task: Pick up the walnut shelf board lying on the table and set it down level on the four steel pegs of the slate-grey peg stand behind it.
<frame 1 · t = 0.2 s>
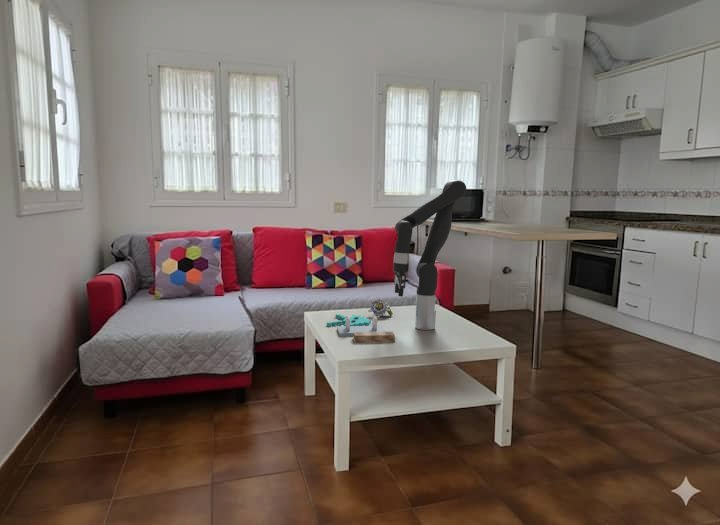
hand: (398, 294, 239), 17 cm above the table, tool pointing down, fingers open, 8 cm apart
alien figure: (350, 324, 251), on the table
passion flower: (380, 316, 266), on the table
peg stand: (361, 332, 233), on the table
shelf board: (373, 341, 221), on the table
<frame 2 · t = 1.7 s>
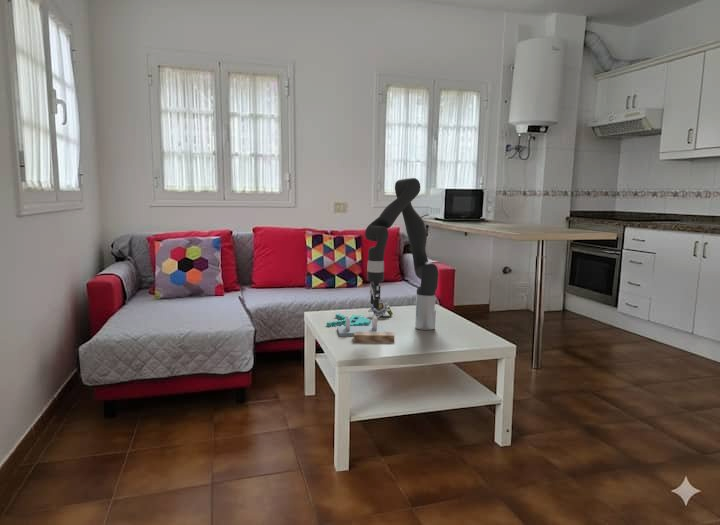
hand: (374, 305, 219), 16 cm above the table, tool pointing down, fingers open, 8 cm apart
nothing on the table moved.
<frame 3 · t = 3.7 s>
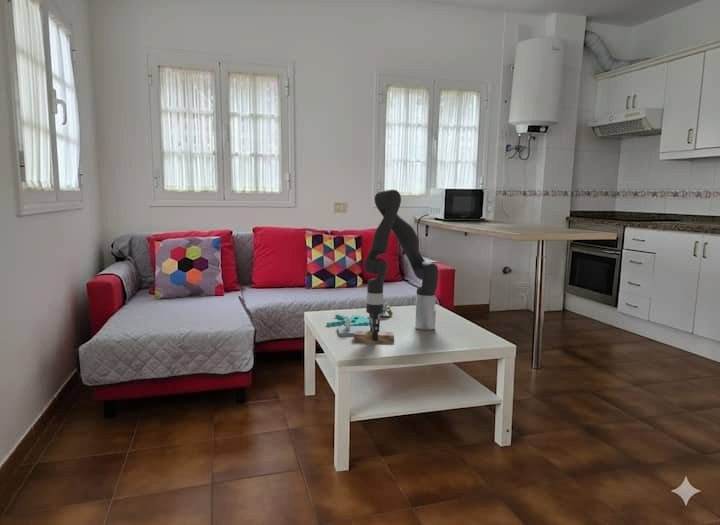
hand: (373, 338, 221), 1 cm above the table, tool pointing down, fingers closed on shelf board, 6 cm apart
shelf board: (373, 340, 221), on the table, touching gripper
everything else where it was.
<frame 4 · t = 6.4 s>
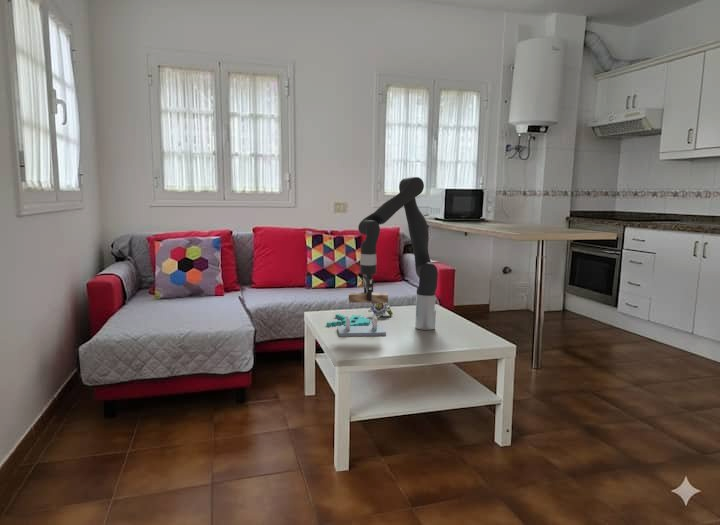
hand: (367, 299, 226), 18 cm above the table, tool pointing down, fingers closed on shelf board, 6 cm apart
shelf board: (368, 301, 226), point 16 cm above the table, touching gripper
everything else where it was.
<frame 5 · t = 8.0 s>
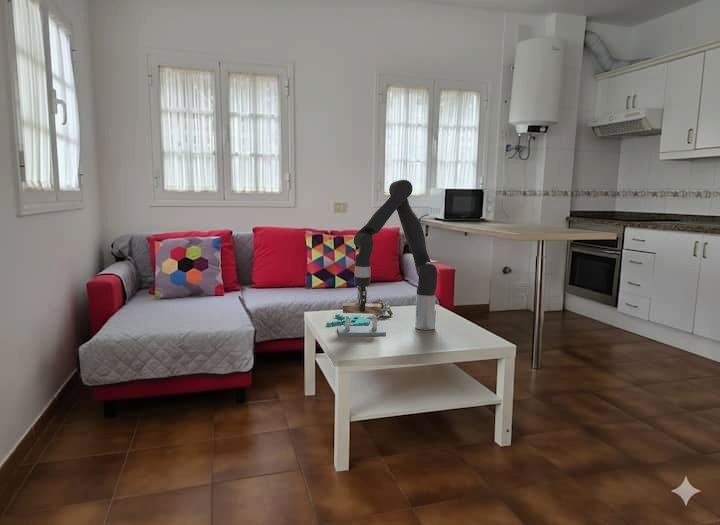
hand: (361, 309, 232), 11 cm above the table, tool pointing down, fingers closed on shelf board, 6 cm apart
shelf board: (361, 312, 232), point 10 cm above the table, touching gripper
everything else where it was.
when the fingers open (10 cm above the table, at t = 9.1 s): shelf board drops 2 cm, resting on peg stand.
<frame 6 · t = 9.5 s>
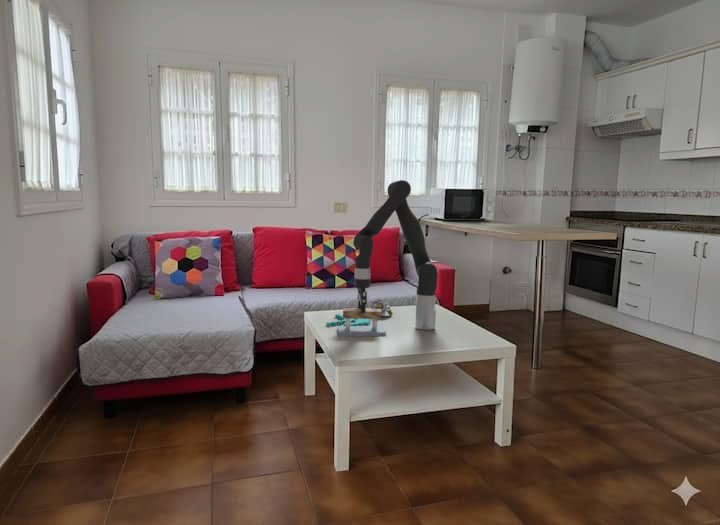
hand: (361, 310, 232), 11 cm above the table, tool pointing down, fingers open, 8 cm apart
shelf board: (361, 317, 232), point 7 cm above the table, touching peg stand
everything else where it was.
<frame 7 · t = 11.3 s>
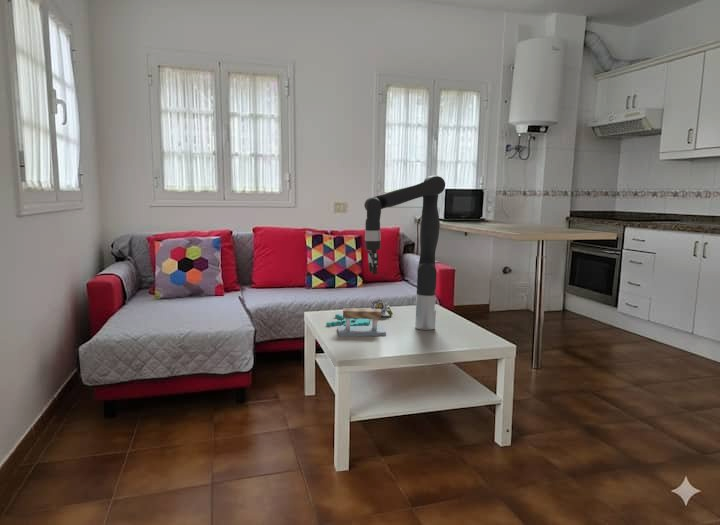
hand: (373, 273, 235), 28 cm above the table, tool pointing down, fingers open, 8 cm apart
nothing on the table moved.
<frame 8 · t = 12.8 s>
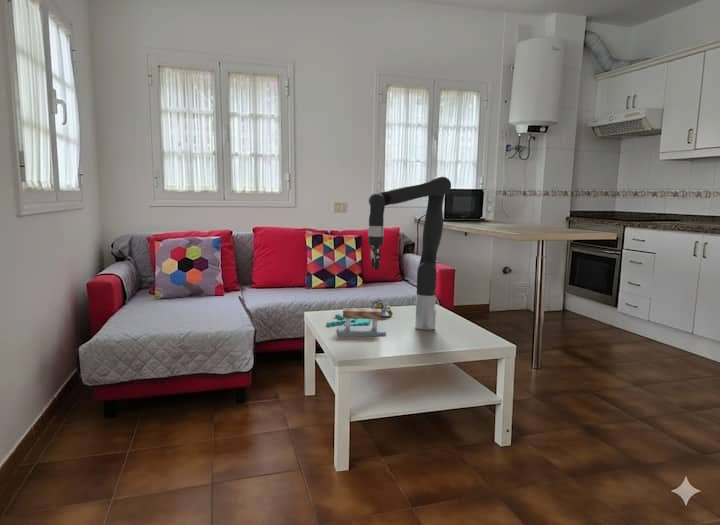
hand: (375, 268, 236), 30 cm above the table, tool pointing down, fingers open, 8 cm apart
nothing on the table moved.
at the end: shelf board 0.2 cm off-centre on the peg stand, point 7.5 cm above the peg stand's base; shelf board tilted 0°; the gripper is holding nothing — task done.
